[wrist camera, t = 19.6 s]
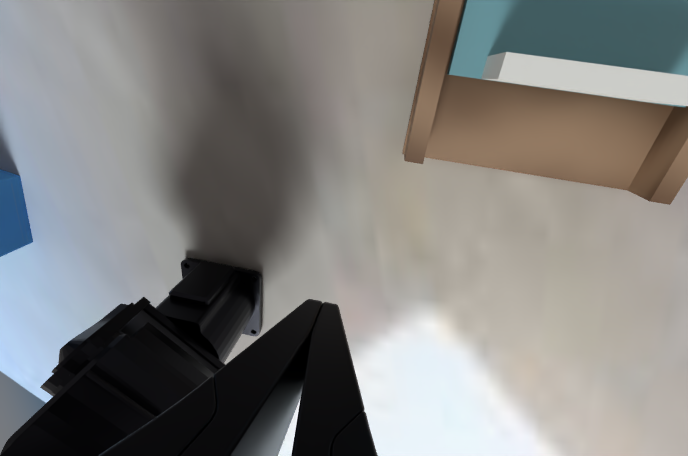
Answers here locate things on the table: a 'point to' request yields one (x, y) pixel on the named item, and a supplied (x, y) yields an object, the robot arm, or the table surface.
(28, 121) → the table surface
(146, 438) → the robot arm
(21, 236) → the perfume bottle
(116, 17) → the table surface
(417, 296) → the table surface
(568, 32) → the tray
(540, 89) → the dock
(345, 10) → the table surface
